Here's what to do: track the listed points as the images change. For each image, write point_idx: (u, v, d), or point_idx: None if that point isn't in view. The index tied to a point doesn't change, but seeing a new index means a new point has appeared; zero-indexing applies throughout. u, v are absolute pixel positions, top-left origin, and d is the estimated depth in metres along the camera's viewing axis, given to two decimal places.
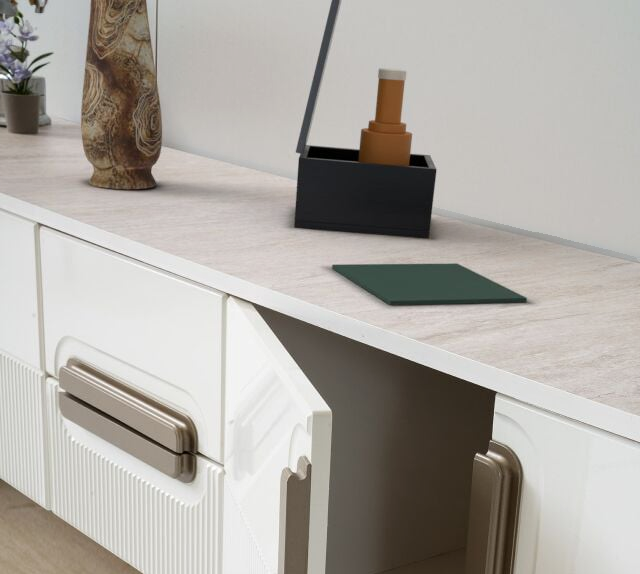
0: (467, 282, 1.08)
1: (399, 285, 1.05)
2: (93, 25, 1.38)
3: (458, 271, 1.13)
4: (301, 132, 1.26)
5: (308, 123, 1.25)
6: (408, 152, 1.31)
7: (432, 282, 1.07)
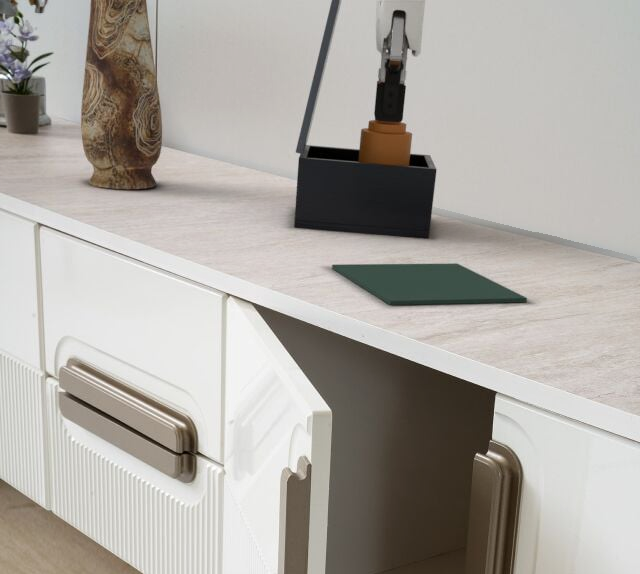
0: (467, 282, 1.08)
1: (399, 285, 1.05)
2: (93, 25, 1.38)
3: (458, 271, 1.13)
4: (301, 132, 1.26)
5: (308, 123, 1.25)
6: (408, 152, 1.31)
7: (432, 282, 1.07)
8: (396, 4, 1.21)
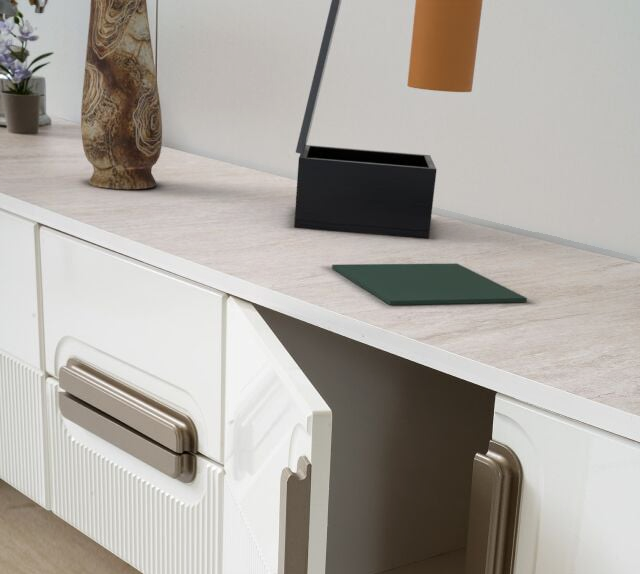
0: (467, 282, 1.08)
1: (399, 285, 1.05)
2: (93, 25, 1.38)
3: (458, 271, 1.13)
4: (301, 132, 1.26)
5: (308, 123, 1.25)
6: None
7: (432, 282, 1.07)
8: None
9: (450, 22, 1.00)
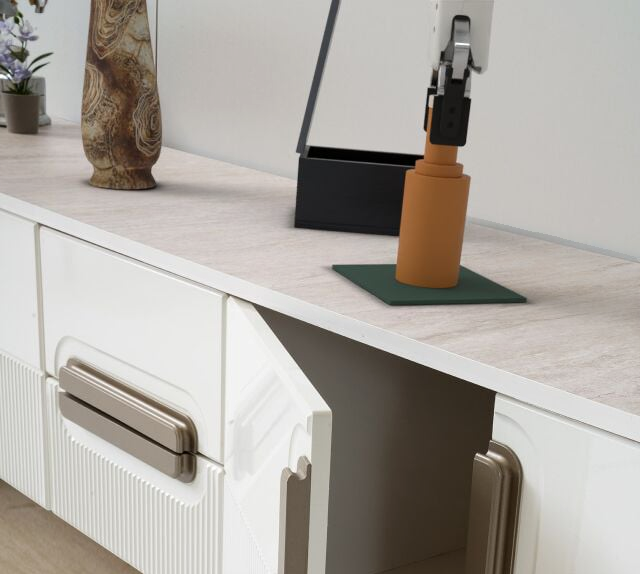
0: (467, 282, 1.08)
1: (399, 285, 1.05)
2: (93, 25, 1.38)
3: None
4: (301, 132, 1.26)
5: (308, 123, 1.25)
6: (466, 200, 1.04)
7: None
8: (457, 7, 0.94)
9: (436, 225, 1.03)
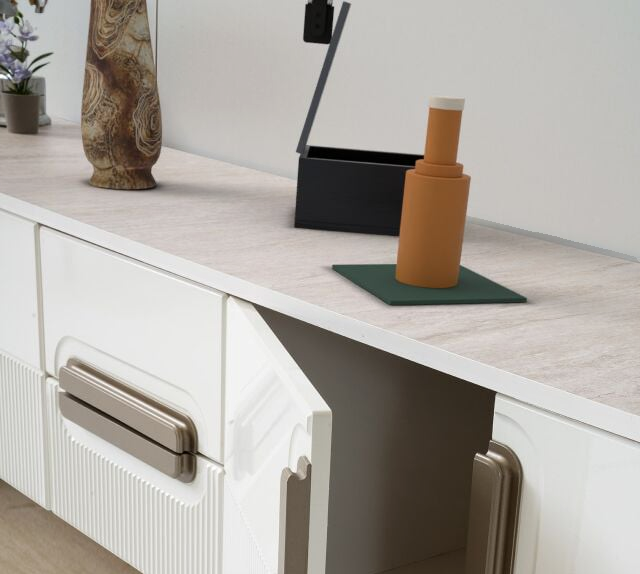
0: (467, 282, 1.08)
1: (399, 285, 1.05)
2: (93, 25, 1.38)
3: None
4: (302, 132, 1.26)
5: (310, 124, 1.25)
6: (466, 200, 1.04)
7: None
8: None
9: (436, 225, 1.03)
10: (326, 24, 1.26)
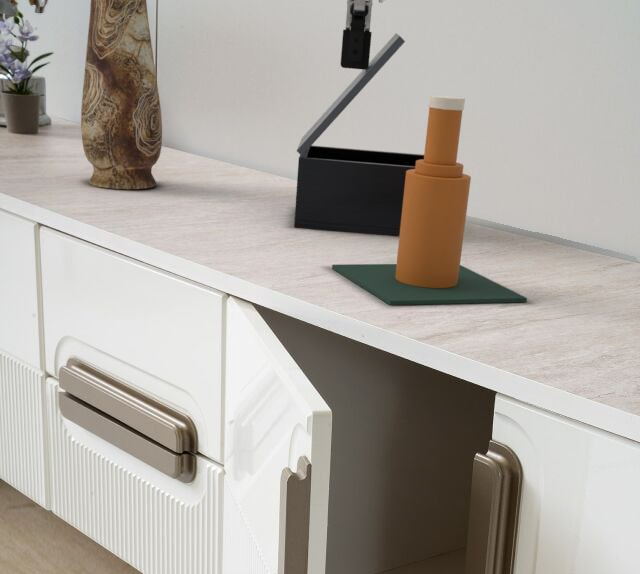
0: (467, 282, 1.08)
1: (399, 285, 1.05)
2: (93, 25, 1.38)
3: None
4: (310, 136, 1.26)
5: (321, 132, 1.25)
6: (466, 200, 1.04)
7: None
8: None
9: (436, 225, 1.03)
10: (363, 50, 1.27)
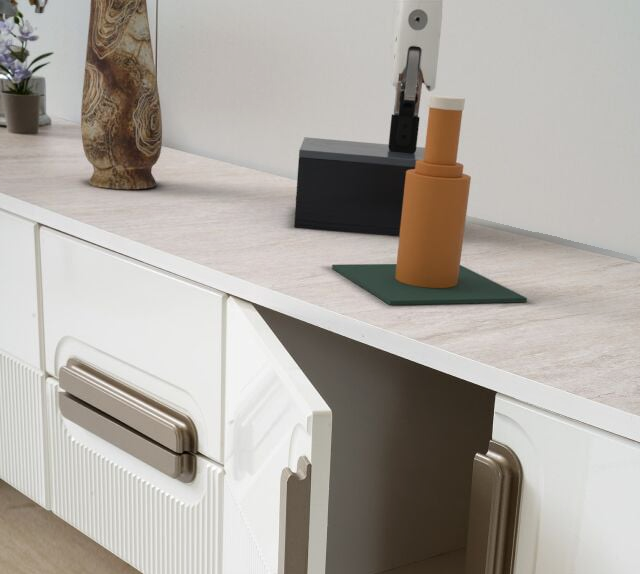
0: (467, 282, 1.08)
1: (399, 285, 1.05)
2: (93, 25, 1.38)
3: None
4: (319, 152, 1.26)
5: (328, 158, 1.27)
6: (466, 200, 1.04)
7: None
8: (412, 40, 1.23)
9: (436, 225, 1.03)
10: (411, 134, 1.31)
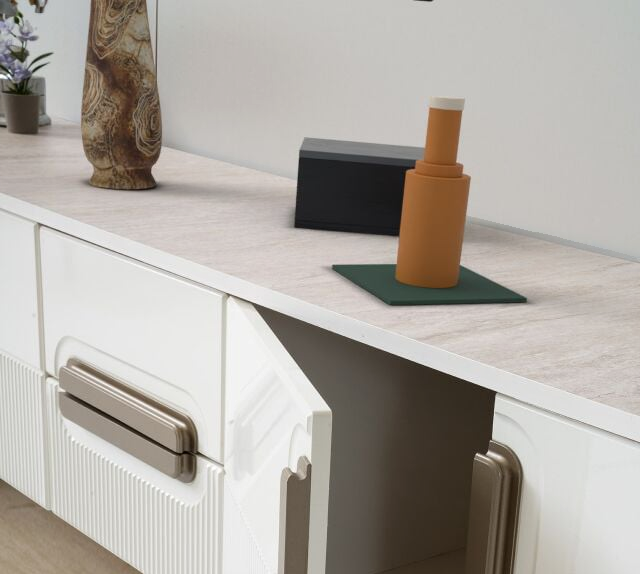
0: (467, 282, 1.08)
1: (399, 285, 1.05)
2: (93, 25, 1.38)
3: None
4: (319, 152, 1.26)
5: (328, 158, 1.27)
6: (466, 200, 1.04)
7: None
8: None
9: (436, 225, 1.03)
10: None
